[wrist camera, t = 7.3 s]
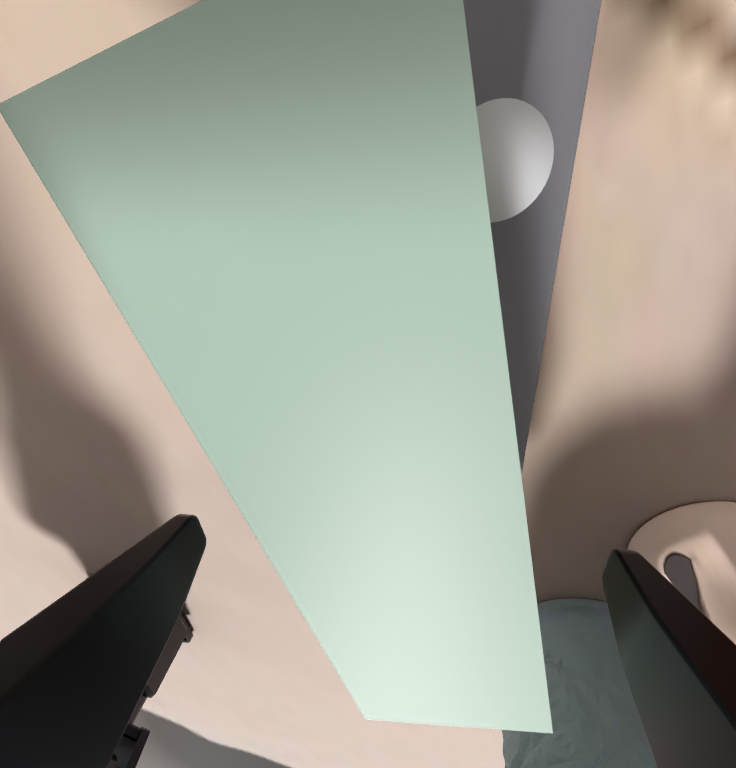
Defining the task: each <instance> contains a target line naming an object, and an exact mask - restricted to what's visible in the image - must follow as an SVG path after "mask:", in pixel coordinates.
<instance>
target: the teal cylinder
mask: <svg viewBox="0 0 736 768" xmlns="http://www.w3.org/2000/svg"><path fill="white" fill-rule="evenodd" d="M537 607H538V615H539V623H540V632H541V640H542V648H543V656H544V664H545V672H546V680H547V689H548V697H549V705H550V713H551V721H552V729H553V734H552V733H539V732H526V731H512V730H502V733H503V739H504V740H503V756H504V759H505V768H657V766H656V763H655V760H654V757H653V754H652V751H651V748H650V746H649V743H648V740H647V737H646V734H645V731H644V728H643V726H642V723H641V720H640V717H639V714H638V711H637V708H636V706H635V703H634V700H633V697H632V694H631V691H630V688H629V686H628V682H627V679H626V676H625V673H624V670H623V666H622V662H621V659H620V655H619V651H618V646H617V642H616V638H615V634H614V630H613V626H612V621H611V617H610V613H609V609H608V605H607V602H604V601H599V600H592V599H582V598H564V599H554V600H548V601H543V602H539V603H537Z"/></svg>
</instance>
